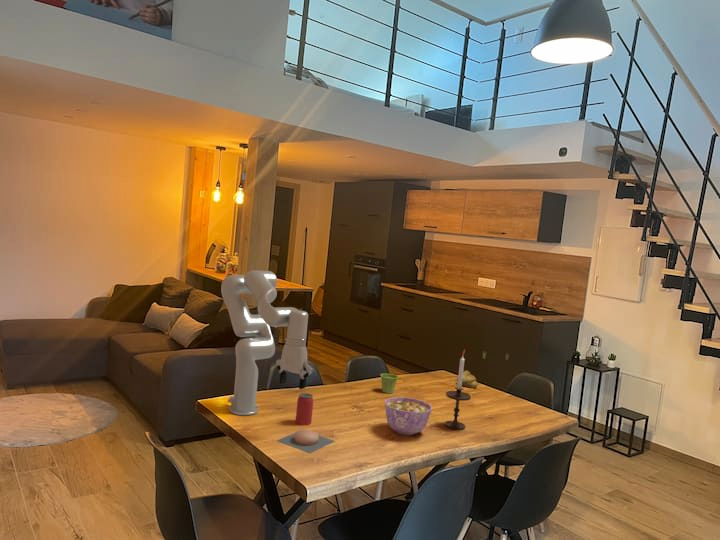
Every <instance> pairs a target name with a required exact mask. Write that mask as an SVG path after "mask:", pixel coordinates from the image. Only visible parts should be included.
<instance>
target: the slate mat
mask: <svg viewBox="0 0 720 540" xmlns="http://www.w3.org/2000/svg"><path fill="white" fill-rule="evenodd" d="M294 437H295V432H293V433H291V434H289V435H286V436H284V437H281V438H279V439H277V440H275V441H276V442H278V443H281V444H284V445H287V446H289V447H292V448H295V449H297V450H299V451H303V452H306V453H307V454H311V453H313V452H317V451H318V450H321V449H323V448H324V447H326V446H329V445H331V444H333V443H335V442H336V441H335V440H334V439H330V438H327V437H325V436H322V435H319V436H318V443H317V444H315V445H310V446H306V445H300V444H297V443H296V442H295V441H294Z"/></svg>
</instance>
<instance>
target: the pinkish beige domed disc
mask: <svg viewBox="0 0 720 540" xmlns="http://www.w3.org/2000/svg"><path fill="white" fill-rule="evenodd" d="M294 433H295V437H294V441H295V442H296V443H297V444H300V445H306V446H310V445H315V444H317V443H318V436H320V435H319V433H318V432H316V431H314V430H312V429H311V430H310V429H299V430H297V431H295V432H294Z"/></svg>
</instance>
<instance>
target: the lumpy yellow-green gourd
mask: <svg viewBox="0 0 720 540" xmlns="http://www.w3.org/2000/svg"><path fill="white" fill-rule="evenodd" d="M456 382H457V383H458V377H457V378H456ZM478 385H479V384H478V381H477V378H476V377H475V375H473V374H471V372H470V371H469V370H463V378H462V386H463V387H466V388H471V389H473V388H474V389H476V388H478Z"/></svg>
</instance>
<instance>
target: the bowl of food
mask: <svg viewBox="0 0 720 540" xmlns="http://www.w3.org/2000/svg"><path fill="white" fill-rule="evenodd" d="M384 409H385V416H386V421H387V424H388V426H389V427H390V428H391V429H393V431H396V432H397V433H398V434H401V435H403V436H404V435H405V436H412V435H415V434H417V433H420V432H422V431H423V430H424V429H425V428H426V426H427V424H428V421H429V418H430V415H431V413H432V410H433V406H432V405H431V404H430V403H428V402H427V401H426V402H425V401H424V400H420V399H417V398H413V397H412V398H411V397H404V396H402V397H400V396H399V397H397V396H395V397H390V398H387V399H385V400H384Z"/></svg>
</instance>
